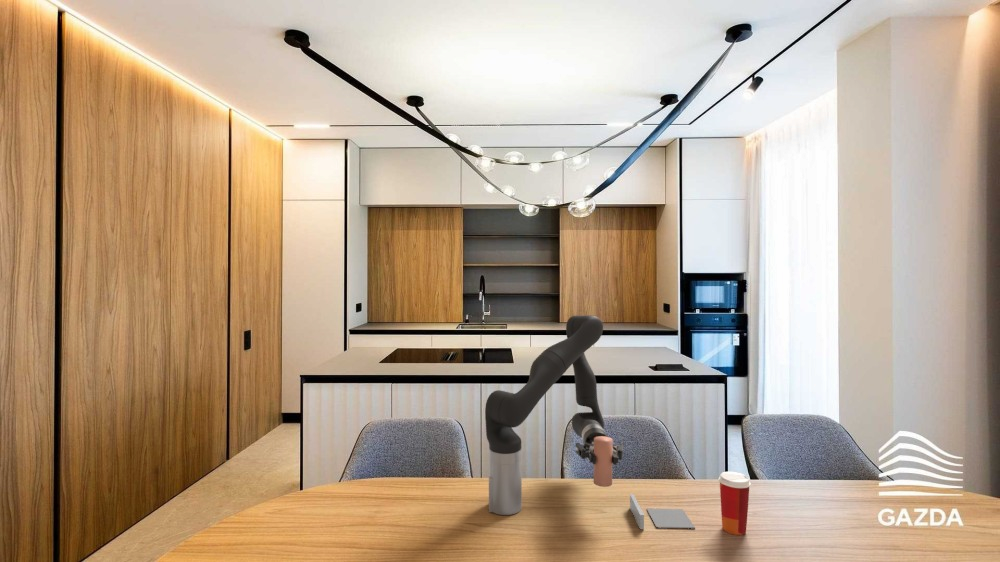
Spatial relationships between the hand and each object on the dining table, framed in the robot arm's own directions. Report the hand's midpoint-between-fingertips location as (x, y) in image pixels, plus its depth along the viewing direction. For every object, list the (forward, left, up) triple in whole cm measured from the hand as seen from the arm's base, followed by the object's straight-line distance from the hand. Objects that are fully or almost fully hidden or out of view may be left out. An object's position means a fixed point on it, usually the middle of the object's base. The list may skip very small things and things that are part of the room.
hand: (604, 460), depth 134 cm
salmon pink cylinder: (0, +3, -7) cm, 7 cm away
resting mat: (+18, +3, -17) cm, 25 cm away
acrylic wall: (+9, +3, -17) cm, 19 cm away
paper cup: (+33, -2, -17) cm, 37 cm away
